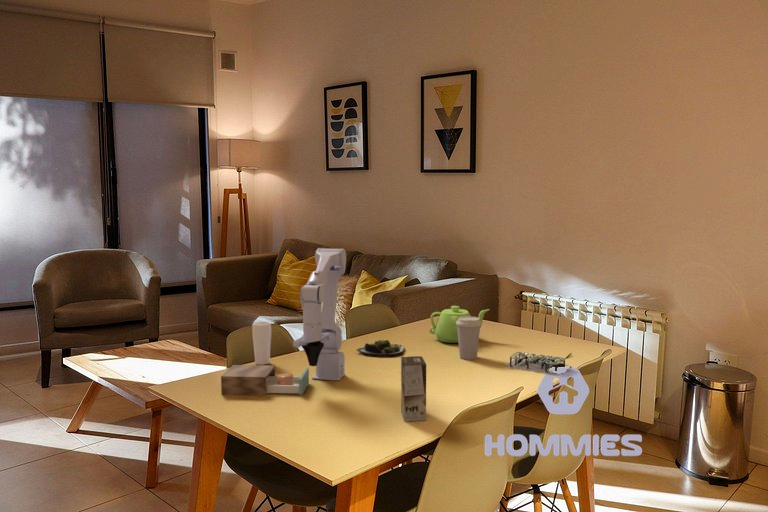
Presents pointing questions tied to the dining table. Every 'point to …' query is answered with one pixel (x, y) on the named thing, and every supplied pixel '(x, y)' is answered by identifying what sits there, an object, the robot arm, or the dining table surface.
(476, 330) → the coffee cup
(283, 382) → the puck
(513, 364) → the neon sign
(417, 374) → the coffee box
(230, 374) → the cabinet
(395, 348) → the salad plate
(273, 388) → the tray
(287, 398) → the dining table surface
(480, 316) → the teapot
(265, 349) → the white tall block
